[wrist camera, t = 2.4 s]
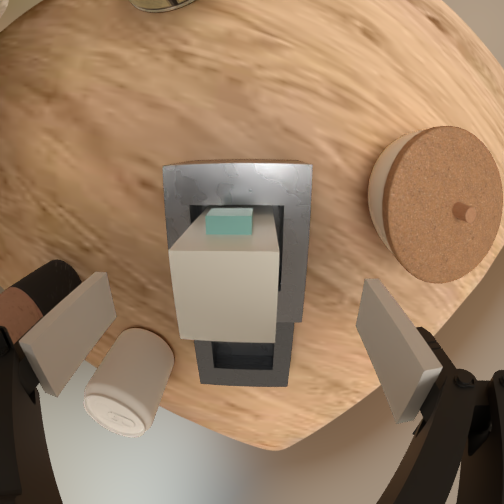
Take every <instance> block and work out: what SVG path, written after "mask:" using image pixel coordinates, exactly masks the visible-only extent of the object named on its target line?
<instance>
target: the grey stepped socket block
mask: <svg viewBox="0 0 504 504" xmlns="http://www.w3.org/2000/svg"><path fill="white" fill-rule="evenodd" d="M163 185H164V202H165V216H166V229H167V240H168V250H169V249H170V248H171V247H172V246H173V245H174V243H175V242H176V241H177V240H178V239H179V238H180V237H181V235H182V234H183V233H184V232H185V231H186V230H187V229H188V228H189V226H190V225H191V224H192V223H193V222H194V221H195V220H196V219H197V218H198V217H199V215H200V214H201V213H202V212H203V211H204V210H205V209H206V208H207V207H208V206H209V205H272V210H273V216H274V221H275V227H276V233H277V240H278V246H279V277H278V298H277V318H276V335H275V343H252V342H223V341H204V340H194V344H195V351H196V358H197V364H198V370H199V376H200V382H201V384H212V385H228V386H254V387H287V385H288V376H289V368H290V359H291V350H292V341H293V331H294V322H302V314H303V304H304V294H305V283H306V271H307V259H308V245H309V230H310V213H311V192H312V164H308V163H305V162H302V161H298V160H267V159H231V160H197V161H187V162H181V163H176V164H170V165H165V166H163Z"/></svg>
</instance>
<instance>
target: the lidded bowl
mask: <svg viewBox="0 0 504 504" xmlns="http://www.w3.org/2000/svg"><path fill="white" fill-rule="evenodd" d="M368 206H369V212H370V215H371V219H372V222H373V224H374V226H375V229H376V231H377V233H378V235H379V237H380V238H381V239H382V241H383V242H384V244H385V245H386V247H387V248H388V249H389V250H390V251H391V253H392V254H393V255H394V256H395V257H396V259H397V260H398V261H399V262H400V264H401V265H402V266H403V267H404V268H405V269H406V270H407V271H408V272H409V273H411V274H412V275H413V276H415V277H416V278H418V279H420V280H422V281H425V282H429V283H447V282H451V281H454V280H457V279H459V278H461V277H463V276H464V275H466V274H468V273H469V272H470V271H472V270H473V269H474V268H475V267H476V266H477V265H478V264H479V263H480V262H481V261H482V260H483V258H484V257H485V256H486V254H487V253H488V251H489V249H490V248H491V246H492V244H493V242H494V240H495V237H496V235H497V232H498V229H499V225H500V221H501V216H502V207H503V191H502V184H501V179H500V175H499V171H498V168H497V166H496V163H495V161H494V159H493V157H492V155H491V153H490V152H489V150H488V149H487V148H486V146H485V145H484V144H483V143H482V142H481V141H480V140H479V139H478V138H477V137H476V136H475V135H473V134H472V133H470V132H468V131H467V130H464V129H461V128H459V127H452V126H440V127H433V128H430V129H423V130H418V131H414V132H411V133H408V134H406V135H403V136H402V137H400V138H398V139H397V140H395V141H393V142H392V143H391V144H390V145H389V146H387V147H386V148H385V150H384V151H383V152H382V153H381V154H380V156H379V158H378V159H377V161H376V163H375V165H374V167H373V170H372V172H371V176H370V180H369V186H368Z"/></svg>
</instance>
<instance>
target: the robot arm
mask: <svg viewBox="0 0 504 504" xmlns="http://www.w3.org/2000/svg"><path fill="white" fill-rule="evenodd" d="M116 317H117V315H116V311H115V307H114V303H113V299H112V295H111V290H110V285H109V281H108V276H107V272H95V273H93V274H92V275H91V276H90V277H89V278H87V279H86V280H85V281H84V282H83V283H81V284H80V285H79V286H78V287H77V288H76V289H74V290H73V291H72V292H71V293H70V294H69V295H68V296H66V297H65V298H64V299H63V300H62V301H61V302H60V303H59V304H57V305H56V306H55V307H54V308H53V309H52V310H51V311H50V312H49V313H48V314H46V315H45V316H43V317H42V318H40V319H39V320H38V321H37V322H36V324H34V325H33V326H32V327H31V329H29V330H28V331H27V332H26V333H25V334H24V335H23V336H22V337H21V338H20V339H19V340H18V341H17V342H16V343H15V344H13V342H12V340H11V337H10V335H9V333H8V330H7V328H6V327H5V326H0V504H63V503H62V500H61V497H60V494H59V490H58V487H57V484H56V481H55V477H54V473H53V470H52V466H51V462H50V458H49V453H48V449H47V444H46V439H45V433H44V428H43V421H42V414H41V406H40V398H39V392H38V390H37V388H36V386H37V385H38V384H39V383H40V384H41V386H42V388H43V390H44V391H45V393H48V394H50V395H53V396H55V397H58V396H59V394H60V393H61V391H62V390H63V388H64V387H65V386H66V384H67V383H68V381H69V380H70V378H71V377H72V376H73V374H74V373H75V371H76V370H77V369H78V367H79V366H80V364H81V363H82V362H83V360H84V359H85V358H86V356H87V355H88V354H89V352H90V351H91V350H92V348H93V347H94V346H95V344H96V343H97V342H98V340H99V339H100V338H101V336H102V335H103V334H104V332H105V331H106V330H107V329H108V327H109V326H110V325H111V324H112V322H113V321H114V320H115V318H116ZM356 328H357V330H358V332H359V334H360V337H361V339H362V341H363V343H364V346H365V348H366V350H367V352H368V355H369V357H370V359H371V362H372V364H373V366H374V369H375V371H376V374H377V376H378V378H379V381H380V383H381V386H382V388H383V391H384V393H385V396H386V398H387V401H388V403H389V406H390V408H391V411H392V414H393V416H394V419H395V422H396V424H399V423H403V422H408V421H412V420H414V419H415V417H416V416H417V414H418V412H419V410H420V411H421V413H422V416H423V419H422V420H421V422H420V423H419V425H418V426H417V428H416V429H415V431H414V432H413V435H414V437H413V439H412V441H411V443H410V446H409V448H408V450H407V452H406V454H405V456H404V457H403V459H402V461H401V463H400V465H399V467H398V469H397V471H396V472H395V474H394V476H393V478H392V479H391V481H390V483H389V484H388V486H387V488H386V489H385V491H384V493H383V494H382V496H381V497H380V499H379V501H378V502H377V503H376V504H445V502H446V500H447V498H448V495H449V493H450V490H451V487H452V485H453V482H454V480H455V477H456V474H457V471H458V468H459V465H460V462H461V470H460V480H459V489H458V496H457V503H456V504H504V370H499V371H497V372H495V373H494V375H493V377H492V379H491V380H490V381H477V380H476V378H475V376H474V375H473V374H471V373H470V372H468V371H466V370H464V369H456V368H455V366H454V365H453V363H452V362H451V360H450V359H449V358H448V356H447V355H446V354H445V352H444V351H443V349H441V346H440V345H439V344H438V343H437V342H436V340H435V338H434V337H433V335H432V334H431V333H430V332H428V331H427V330H426V329H424V328H423V327H415V326H414V324H413V323H412V322H411V320H410V319H409V318H408V316H407V315H406V313H405V312H404V311H403V309H402V308H401V307H400V305H399V304H398V303H397V301H396V300H395V299H394V297H393V296H392V295H391V294H390V292H389V291H388V290H387V288H386V287H385V286H384V285H383V283H382V282H381V281H380V280H379V279H365V281H364V287H363V292H362V297H361V303H360V308H359V312H358V317H357V322H356Z"/></svg>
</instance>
